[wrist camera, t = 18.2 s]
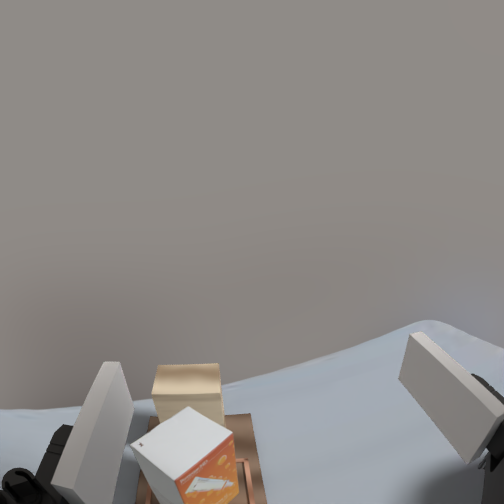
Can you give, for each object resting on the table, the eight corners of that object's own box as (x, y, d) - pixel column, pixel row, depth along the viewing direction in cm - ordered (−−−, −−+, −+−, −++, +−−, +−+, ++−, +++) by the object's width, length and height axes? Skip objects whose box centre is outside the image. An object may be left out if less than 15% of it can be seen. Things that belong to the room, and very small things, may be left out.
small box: (197, 532, 22) (173, 482, 18) (158, 503, 25) (127, 443, 22) (241, 492, 28) (234, 430, 25) (202, 469, 32) (186, 403, 28)
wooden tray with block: (275, 549, 20) (281, 508, 17) (132, 548, 19) (86, 502, 15) (250, 417, 43) (247, 352, 40) (151, 420, 42) (133, 356, 38)
